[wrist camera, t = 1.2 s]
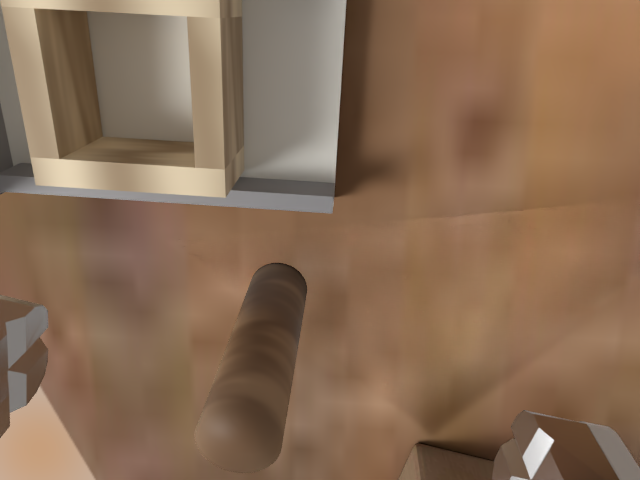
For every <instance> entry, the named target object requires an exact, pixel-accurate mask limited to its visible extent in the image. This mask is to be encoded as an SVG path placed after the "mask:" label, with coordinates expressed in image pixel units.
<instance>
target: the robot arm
mask: <svg viewBox="0 0 640 480" xmlns="http://www.w3.org/2000/svg"><path fill="white" fill-rule="evenodd" d="M47 328H48V310H47V309H46V308H45V307H44V306H43V305H40V304H36V303H32V302H28V301H24V300H19V299H15V298H11V297H7V296H3V295H0V438H1V436H2V435H3V434H4V433H5V431H6V430H7V429H8V428H9V426H10V412H13V411H15V410H17V409H19V408H21V407H24V406H26V405H27V404H28V403H29V401H30V400H31V399H32V397H33V396H34V395H35V393H36V392H37V390H38V388H39V386H40V384H41V382H42V379H43V377H44V375H45V371H46V366H47V362H48V348H47V347H46V346H45V344H44V343H43V341H42V340H41V339H40V336H41V335H42V333H43V332H44V331H45V330H46V329H47ZM511 429H512V432H513V435H514V438H513V439H511V440H510V441H508V442H506V443H504V444H503V445H501V447H500V449H499V451H498V453H497V455H496V457H495V459H494V466H493V473H492V479H493V480H640V468H639V466H638V465H637V463H636V462H635V460H634V458H633V457H632V455H631V454H630V452H629V451H628V449H627V448H626V446H625V445H624V443H623V441H622V440H621V438H620V437H619V435H618V434H617V433H616V432H615V431H614V430H612V429H611V428H610V427H608V426H603V425H597V424H592V423H587V422H582V421H580V422H577V421H572V420H568V419H563V418H558V417H553V416H549V415H544V414H539V413H535V412H530V411H525V410H523V411H522V412H521V413H520V414H518V415H517V416H516V418H515V420H514V422H513V424H512V426H511Z"/></svg>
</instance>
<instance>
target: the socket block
mask: <svg viewBox="0 0 640 480" xmlns="http://www.w3.org/2000/svg"><path fill="white" fill-rule="evenodd" d="M0 2H1V7H2V12H3V18H4V23H5V28H6V33H7V38H8V44H9V49H10V54H11V59H12V64H13V70H14V75H15V80H16V85H17V90H18V95H19V101H20V106H21V111H22V116H23V121H24V127H25V132H26V137H27V142H28V147H29V153H30V158H31V163H32V168H33V173H34V179H35V184H36V185H39V186H54V187H69V188H84V189H100V190H115V191H130V192H145V193H161V194H176V195H191V196H206V197H222V198H226V196H227V195H228V193H229V192H230V190H231V189H232V187H233V186H234V185H235V183H236V182H237V180H238V179H239V177H240V176H241V174H242V173H243V171H244V109H243V40H242V0H0ZM87 11H94V12H113V13H132V14H150V15H169V16H187V28H188V46H189V64H190V82H191V100H192V118H193V136H194V142H182V141H166V140H150V139H133V138H117V137H103V133H102V126H101V118H100V110H99V102H98V95H97V87H96V79H95V72H94V64H93V56H92V49H91V41H90V33H89V25H88V18H87Z"/></svg>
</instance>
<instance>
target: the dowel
mask: <svg viewBox="0 0 640 480" xmlns="http://www.w3.org/2000/svg"><path fill="white" fill-rule="evenodd" d="M306 294H307V285H306V281H305V279H304V277H303V276H302V274H301V273H300V272H299V271H298V270H296V269H295V268H294V267H292V266H289V265H287V264H283V263H271V264H267V265H265V266H263V267H261V268H260V269H258V270H257V271H256V272H255V274H254V275H253V277H252V280H251V282H250V285H249V288H248V291H247V293H246V296H245V299H244V301H243V304H242V307H241V309H240V312H239V315H238V317H237V320H236V323H235V325H234V328H233V331H232V333H231V336H230V339H229V341H228V344H227V347H226V349H225V352H224V355H223V357H222V360H221V363H220V365H219V368H218V371H217V373H216V376H215V379H214V382H213V384H212V387H211V390H210V392H209V395H208V398H207V400H206V403H205V406H204V408H203V411H202V414H201V416H200V419H199V422H198V424H197V427H196V430H195V442H196V445H197V448H198V450H199V451H200V453H201V454H202V455H203V456H204V458H206V459H207V460H208V461H209V462H210V463H212V464H213V465H215V466H217V467H219V468H221V469H224V470H227V471H231V472H236V473H251V472H256V471H260V470H262V469H265V468H267V467H268V466H270V465H271V464H273V463H274V462H275V461H276V459H277V458H278V456H279V454H280V452H281V448H282V442H283V435H284V429H285V423H286V417H287V411H288V405H289V399H290V393H291V386H292V380H293V374H294V368H295V362H296V356H297V350H298V343H299V337H300V331H301V325H302V319H303V313H304V307H305V300H306Z"/></svg>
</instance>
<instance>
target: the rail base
mask: <svg viewBox="0 0 640 480" xmlns="http://www.w3.org/2000/svg"><path fill="white" fill-rule="evenodd" d="M346 1H347V0H242V40H243V109H244V171H243V173H242V174H241V176H240V177H239V179H238V180H237V182H236V183H235V185H234V186H233V187H232V189H231V190H230V192H229V193H228V195H227V196H226V198H222V197H206V196H191V195H176V194H161V193H145V192H130V191H115V190H100V189H84V188H69V187H54V186H39V185H36V184H35V179H34V173H33V168H32V163H31V158H30V153H29V147H28V142H27V137H26V132H25V127H24V121H23V116H22V111H21V106H20V101H19V95H18V90H17V85H16V80H15V75H14V70H13V64H12V59H11V54H10V49H9V44H8V38H7V33H6V28H5V23H4V18H3V12H2V7H1V2H0V194H2V193H4V192H16V193H31V194H46V195H61V196H76V197H92V198H107V199H122V200H137V201H152V202H167V203H182V204H197V205H212V206H228V207H243V208H258V209H273V210H288V211H303V212H318V213H332V211H333V205H334V193H335V177H336V161H337V145H338V129H339V113H340V97H341V81H342V65H343V49H344V33H345V17H346ZM87 18H88V25H89V33H90V41H91V49H92V56H93V64H94V72H95V79H96V87H97V95H98V102H99V110H100V118H101V126H102V133H103V137H117V138H133V139H150V140H166V141H182V142H194V136H193V118H192V100H191V82H190V64H189V46H188V28H187V16H169V15H150V14H132V13H113V12H94V11H87Z"/></svg>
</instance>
